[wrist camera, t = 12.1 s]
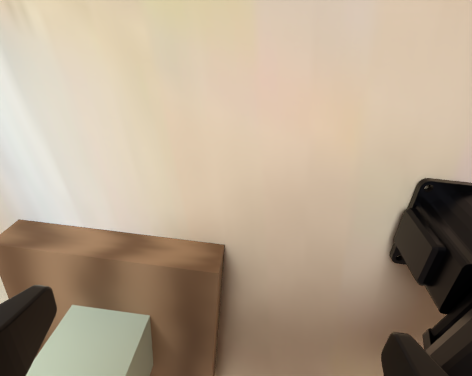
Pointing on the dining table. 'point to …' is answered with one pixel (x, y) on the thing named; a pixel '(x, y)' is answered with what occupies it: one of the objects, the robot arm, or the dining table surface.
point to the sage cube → (97, 345)
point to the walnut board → (125, 284)
